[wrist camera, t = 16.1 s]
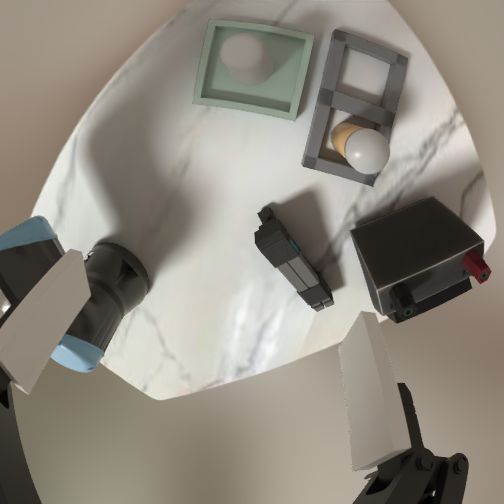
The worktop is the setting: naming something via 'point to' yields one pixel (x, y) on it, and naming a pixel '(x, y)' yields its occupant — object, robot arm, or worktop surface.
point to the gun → (291, 261)
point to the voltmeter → (418, 258)
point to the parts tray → (267, 93)
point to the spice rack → (349, 135)
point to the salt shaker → (247, 59)
